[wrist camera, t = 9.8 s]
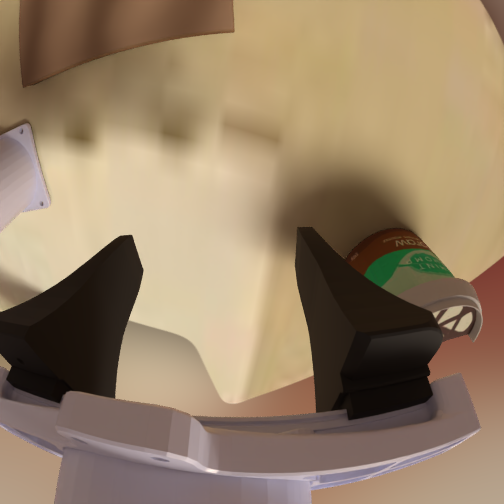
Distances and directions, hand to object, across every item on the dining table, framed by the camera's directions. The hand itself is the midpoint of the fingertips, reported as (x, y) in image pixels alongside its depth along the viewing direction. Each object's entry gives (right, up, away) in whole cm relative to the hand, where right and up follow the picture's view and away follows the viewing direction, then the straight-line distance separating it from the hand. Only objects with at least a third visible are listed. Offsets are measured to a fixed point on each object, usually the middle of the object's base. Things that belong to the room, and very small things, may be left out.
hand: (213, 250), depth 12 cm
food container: (+14, +1, +12) cm, 18 cm away
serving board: (-8, +20, -3) cm, 21 cm away
